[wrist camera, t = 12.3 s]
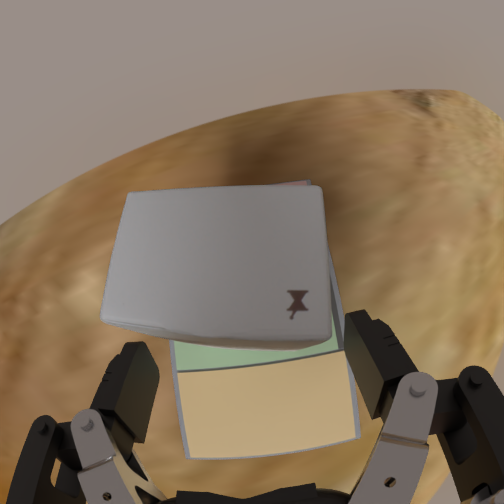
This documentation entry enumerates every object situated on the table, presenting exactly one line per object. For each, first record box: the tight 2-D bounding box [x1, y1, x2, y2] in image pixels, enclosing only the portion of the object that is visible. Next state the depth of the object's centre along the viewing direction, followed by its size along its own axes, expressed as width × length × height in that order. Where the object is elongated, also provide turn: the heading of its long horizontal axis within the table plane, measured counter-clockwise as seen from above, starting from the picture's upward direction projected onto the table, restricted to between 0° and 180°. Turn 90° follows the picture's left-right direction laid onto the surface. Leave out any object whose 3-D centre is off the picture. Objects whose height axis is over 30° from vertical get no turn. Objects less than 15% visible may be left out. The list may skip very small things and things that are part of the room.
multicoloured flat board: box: [169, 179, 361, 459], centre depth 18 cm, size 12×20×1 cm, turn 8°
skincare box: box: [100, 185, 332, 351], centre depth 12 cm, size 6×4×12 cm
